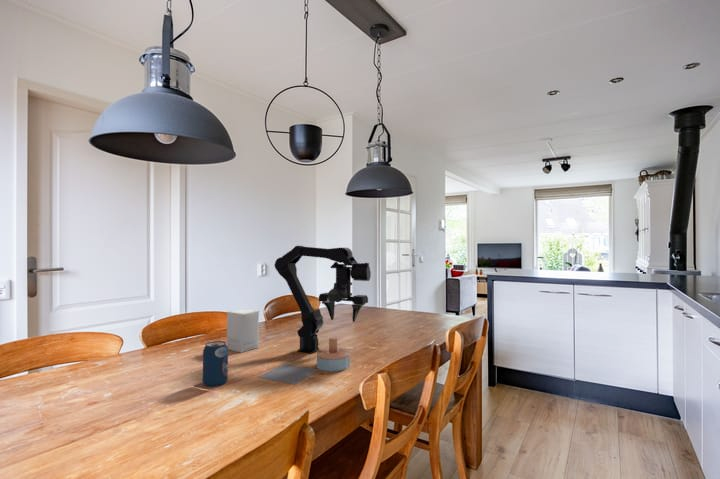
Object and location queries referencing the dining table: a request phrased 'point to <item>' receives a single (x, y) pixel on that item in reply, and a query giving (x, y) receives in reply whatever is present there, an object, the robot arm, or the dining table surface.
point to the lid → (332, 351)
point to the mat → (288, 374)
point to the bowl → (333, 364)
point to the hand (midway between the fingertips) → (342, 320)
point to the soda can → (215, 363)
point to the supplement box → (242, 330)
